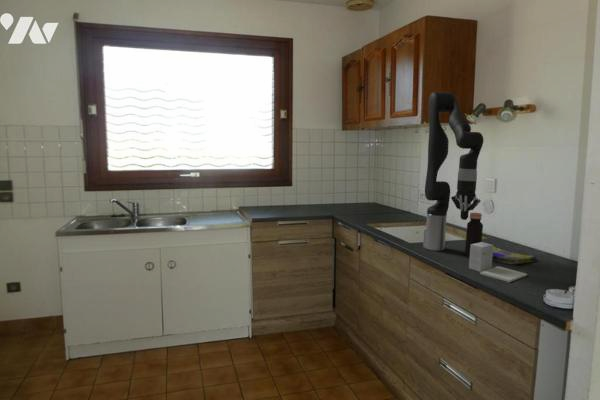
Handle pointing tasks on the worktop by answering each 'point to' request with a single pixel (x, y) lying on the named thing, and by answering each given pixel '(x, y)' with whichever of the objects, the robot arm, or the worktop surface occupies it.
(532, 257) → the dish towel
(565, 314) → the worktop surface
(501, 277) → the mat
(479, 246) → the small box
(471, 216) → the bottle
